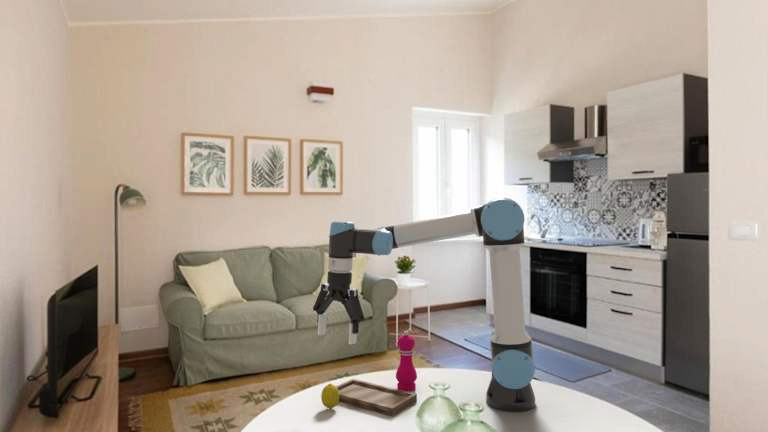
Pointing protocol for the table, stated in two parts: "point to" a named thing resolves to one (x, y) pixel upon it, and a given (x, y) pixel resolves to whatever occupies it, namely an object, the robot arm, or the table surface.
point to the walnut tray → (375, 397)
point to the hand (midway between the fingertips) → (336, 338)
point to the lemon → (330, 396)
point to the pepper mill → (406, 364)
